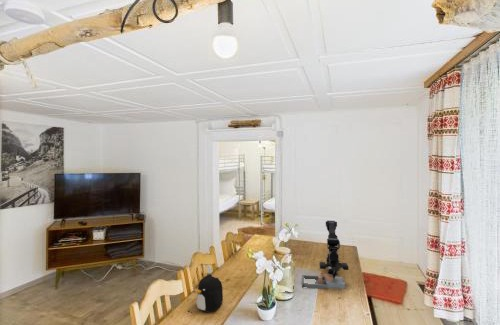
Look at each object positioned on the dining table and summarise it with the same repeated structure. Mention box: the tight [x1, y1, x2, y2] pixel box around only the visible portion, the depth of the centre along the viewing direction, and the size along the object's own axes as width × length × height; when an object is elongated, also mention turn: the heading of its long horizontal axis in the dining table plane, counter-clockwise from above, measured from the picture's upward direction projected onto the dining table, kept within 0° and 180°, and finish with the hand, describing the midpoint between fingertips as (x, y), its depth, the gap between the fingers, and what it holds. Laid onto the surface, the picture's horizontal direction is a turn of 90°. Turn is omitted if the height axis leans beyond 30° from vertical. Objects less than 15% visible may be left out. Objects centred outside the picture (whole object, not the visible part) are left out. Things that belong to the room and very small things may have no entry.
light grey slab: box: [325, 276, 346, 290], centre depth 175 cm, size 10×12×4 cm
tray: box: [301, 274, 328, 290], centre depth 178 cm, size 14×16×2 cm
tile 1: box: [317, 274, 323, 284], centre depth 177 cm, size 5×5×2 cm
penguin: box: [195, 274, 224, 312], centre depth 153 cm, size 18×18×17 cm
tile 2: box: [323, 273, 333, 281], centre depth 176 cm, size 5×5×2 cm
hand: (333, 278), depth 176 cm, fingers closed
